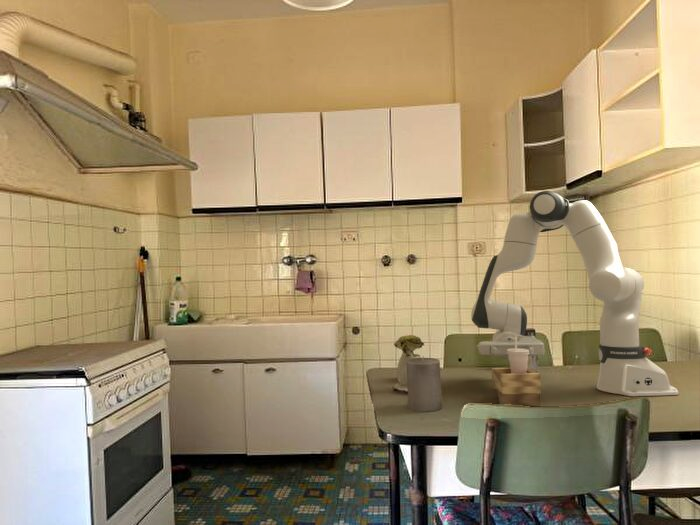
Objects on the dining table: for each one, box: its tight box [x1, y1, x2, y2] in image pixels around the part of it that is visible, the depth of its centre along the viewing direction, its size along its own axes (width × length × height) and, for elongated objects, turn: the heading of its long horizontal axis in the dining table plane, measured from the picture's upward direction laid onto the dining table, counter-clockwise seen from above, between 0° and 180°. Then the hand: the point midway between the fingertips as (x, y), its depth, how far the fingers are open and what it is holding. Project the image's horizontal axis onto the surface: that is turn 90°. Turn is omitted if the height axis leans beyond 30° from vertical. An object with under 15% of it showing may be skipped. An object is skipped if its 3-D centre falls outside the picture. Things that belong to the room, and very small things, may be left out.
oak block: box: [491, 367, 542, 394], centre depth 154 cm, size 11×11×6 cm
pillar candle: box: [407, 355, 443, 413], centre depth 150 cm, size 10×10×15 cm
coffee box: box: [524, 327, 538, 370], centre depth 202 cm, size 9×6×16 cm
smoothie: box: [507, 335, 529, 374], centre depth 154 cm, size 6×6×14 cm
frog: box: [392, 334, 425, 392], centre depth 172 cm, size 12×13×18 cm
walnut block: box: [496, 389, 542, 407], centre depth 154 cm, size 11×11×4 cm
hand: (513, 351), depth 159 cm, fingers open, 8 cm apart
